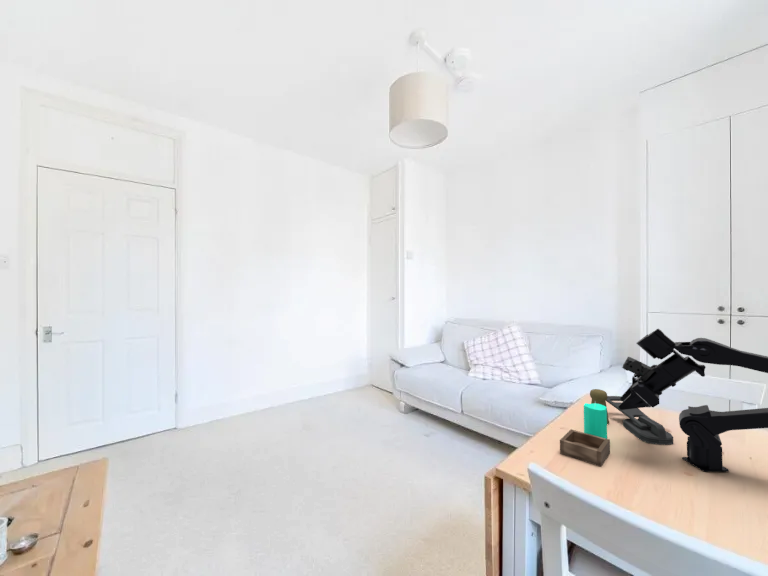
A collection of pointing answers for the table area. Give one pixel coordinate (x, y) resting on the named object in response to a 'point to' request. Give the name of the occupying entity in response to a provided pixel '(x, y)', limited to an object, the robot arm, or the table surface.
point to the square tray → (585, 447)
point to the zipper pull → (642, 425)
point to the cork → (599, 398)
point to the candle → (595, 420)
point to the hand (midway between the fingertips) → (620, 403)
